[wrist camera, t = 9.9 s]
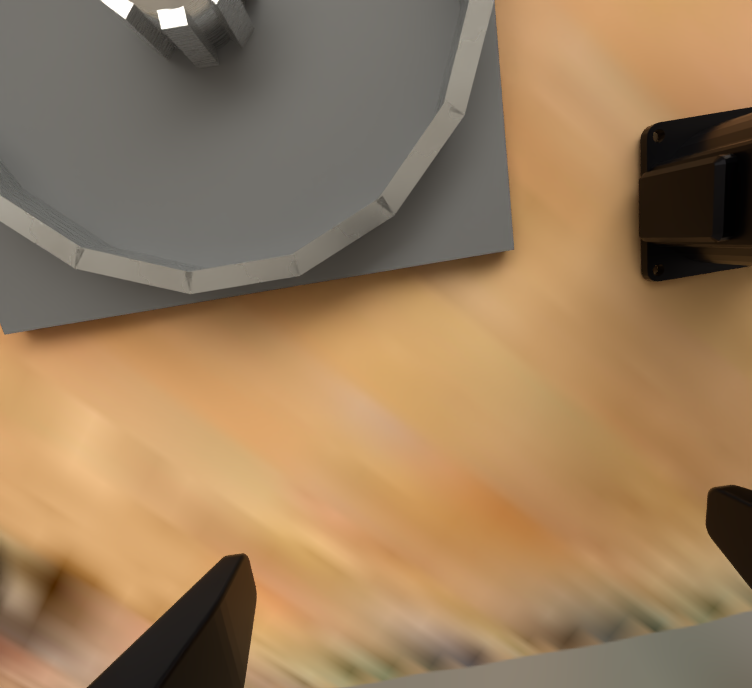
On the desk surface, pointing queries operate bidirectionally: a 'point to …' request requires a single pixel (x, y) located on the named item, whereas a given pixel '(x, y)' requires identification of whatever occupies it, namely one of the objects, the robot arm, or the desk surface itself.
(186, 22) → the sun gear
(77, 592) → the desk surface
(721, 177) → the robot arm
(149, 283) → the grey flat ring
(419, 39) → the tray
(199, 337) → the desk surface
